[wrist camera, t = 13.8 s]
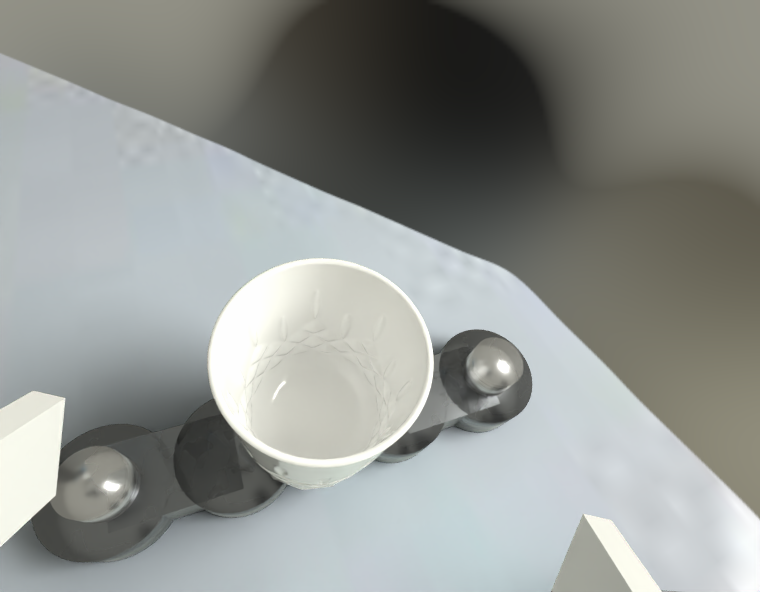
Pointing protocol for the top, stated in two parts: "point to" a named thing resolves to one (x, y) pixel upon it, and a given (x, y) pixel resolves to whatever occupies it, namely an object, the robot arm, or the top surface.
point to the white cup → (319, 369)
